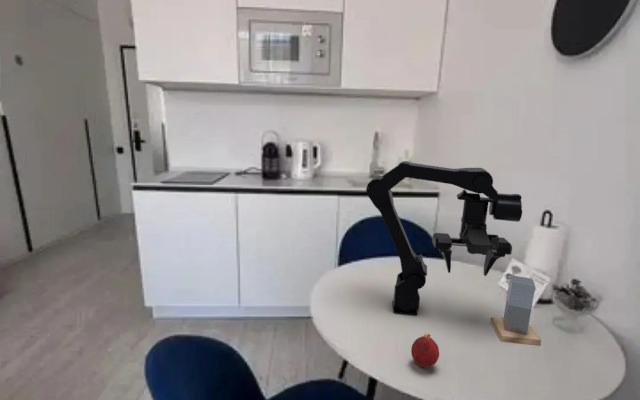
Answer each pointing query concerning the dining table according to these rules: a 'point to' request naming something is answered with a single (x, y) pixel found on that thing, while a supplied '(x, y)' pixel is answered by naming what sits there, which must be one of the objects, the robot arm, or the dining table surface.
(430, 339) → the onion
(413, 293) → the robot arm
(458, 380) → the dining table surface
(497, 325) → the cork pad
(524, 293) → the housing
